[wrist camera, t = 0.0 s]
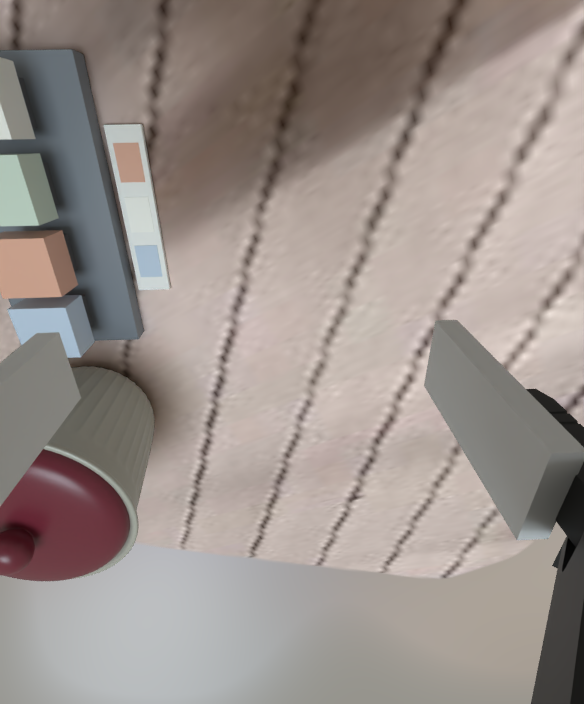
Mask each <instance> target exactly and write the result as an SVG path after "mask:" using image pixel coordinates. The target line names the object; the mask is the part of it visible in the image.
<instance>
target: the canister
mask: <svg viewBox="0 0 584 704" xmlns="http://www.w3.org/2000/svg"><path fill="white" fill-rule="evenodd" d="M71 369H72V372H73V375H74V378H75V381H76V384H77V387H78V390H79V393H80V396H81V399H80V400H79V401H78V403H77V404H76V405H75V407H74V408H73V409H72V411H71V412H70V414H69V415H68V416H67V418H66V419H65V420H64V422H63V423H62V424H61V426H60V427H59V428H58V430H57V431H56V432H55V434H54V435H53V436H52V438H51V439H50V440H49V442H48V443H47V444H46V446H45V447H44V448H43V450H42V451H41V453H40V454H39V455H38V457H37V458H36V459H35V461H34V462H33V463H32V465H31V466H30V467H29V469H28V470H27V471H26V473H25V474H24V475H23V477H22V478H21V479H20V481H19V482H18V483H17V485H16V486H15V487H14V489H13V490H12V492H11V493H10V494H9V496H8V497H7V498H6V500H5V501H4V502H3V504H2V505H1V506H0V575H4V576H8V577H12V578H17V579H24V580H33V581H59V580H66V579H74V578H80V577H85V576H89V575H93V574H96V573H99V572H101V571H104V570H106V569H108V568H110V567H111V566H113V565H115V564H116V563H118V562H119V561H120V560H122V559H123V558H124V557H125V556H126V555H127V554H128V552H129V551H130V550H131V548H132V547H133V545H134V543H135V540H136V537H137V534H138V516H137V511H136V510H137V506H138V502H139V498H140V493H141V489H142V485H143V480H144V476H145V472H146V468H147V464H148V459H149V455H150V450H151V445H152V440H153V435H154V421H155V420H154V415H153V409H152V407H151V404H150V401H149V400H148V399H147V397H146V394H145V393H143V392H142V390H141V388H140V387H138V386H137V385H136V384H135V382H132V381H131V380H129V379H128V377H124V376H123V375H121V374H120V373H116V372H114V371H112V370H107V369H104V368H97V367H94V366H91V367H86V366H82V367H74V368H71Z"/></svg>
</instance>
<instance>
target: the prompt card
mask: <svg viewBox="0 0 584 704" xmlns="http://www.w3.org/2000/svg"><path fill="white" fill-rule="evenodd" d="M104 129H105V134H106V139H107V143H108V148H109V153H110V157H111V162H112V167H113V171H114V176H115V181H116V185H117V190H118V195H119V199H120V204H121V209H122V213H123V218H124V223H125V227H126V232H127V237H128V241H129V246H130V250H131V255H132V260H133V264H134V269H135V274H136V278H137V283H138V288H139V290H157V289H170V288H171V286H170V280H169V274H168V268H167V263H166V257H165V251H164V245H163V240H162V234H161V228H160V222H159V217H158V211H157V205H156V199H155V193H154V188H153V182H152V176H151V170H150V165H149V159H148V153H147V147H146V141H145V136H144V130H143V124H125V125H104Z"/></svg>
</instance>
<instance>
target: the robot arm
mask: <svg viewBox="0 0 584 704" xmlns="http://www.w3.org/2000/svg"><path fill="white" fill-rule="evenodd" d="M424 386H425V388H426V390H427V391H428V393H429V395H430V396H431V398H432V400H433V401H434V403H435V405H436V406H437V408H438V410H439V411H440V413H441V415H442V416H443V418H444V420H445V421H446V423H447V425H448V426H449V428H450V430H451V431H452V433H453V435H454V436H455V438H456V440H457V441H458V443H459V445H460V446H461V448H462V450H463V451H464V453H465V455H466V456H467V458H468V460H469V461H470V463H471V465H472V466H473V468H474V470H475V471H476V473H477V475H478V476H479V478H480V480H481V481H482V483H483V485H484V486H485V488H486V490H487V491H488V493H489V495H490V496H491V498H492V500H493V501H494V503H495V505H496V506H497V508H498V510H499V511H500V513H501V515H502V516H503V518H504V520H505V521H506V523H507V525H508V526H509V528H510V530H511V531H512V533H513V535H514V536H515V538H516V540H531V539H548V538H549V536H550V534H551V532H552V530H553V527H554V525H555V523H556V521H557V523H558V524H559V525H560V527H561V528H562V529H563V531H564V532H565V534H566V535H567V537H566V539H565V541H564V543H563V545H562V547H561V549H560V551H559V553H558V555H557V557H556V559H555V561H554V563H553V565H552V566H554V567H556V568H558V570H557V575H556V580H555V585H554V590H553V595H552V600H551V606H550V610H549V615H548V621H547V625H546V630H545V636H544V641H543V646H542V651H541V656H540V661H539V666H538V671H537V676H536V681H535V686H534V691H533V696H532V701H531V704H584V427H583V426H582V425H581V424H578V423H577V420H576V419H574V418H573V417H572V416H571V415H570V414H567V411H566V410H565V409H564V408H563V407H562V406H561V405H560V404H558V403H557V402H556V401H555V400H554V399H553V398H551V397H549V396H547V395H546V394H544V393H542V392H540V391H538V390H537V389H525V388H524V387H523V386H522V385H521V384H520V383H519V382H518V381H517V380H516V379H515V378H514V377H513V376H512V375H511V374H510V373H509V372H508V371H507V370H506V369H505V368H504V367H503V366H502V365H501V364H500V363H499V362H498V361H497V360H496V359H495V358H494V357H493V356H492V355H491V354H490V353H489V352H488V351H487V350H486V349H485V348H484V347H483V346H482V345H481V344H480V343H479V342H478V341H477V340H476V339H475V338H474V337H473V336H472V335H471V334H470V333H469V332H468V331H467V330H466V329H465V328H464V327H463V326H462V325H461V324H460V323H459V322H458V321H457V320H441V321H435V326H434V332H433V338H432V344H431V349H430V355H429V361H428V367H427V372H426V378H425V384H424ZM80 399H81V396H80V393H79V390H78V387H77V384H76V381H75V378H74V375H73V372H72V369H71V366H70V363H69V360H68V357H67V354H66V351H65V348H64V345H63V342H62V339H61V336H60V333H59V332H55V333H36V334H35V335H34V336H32V337H31V338H30V339H29V340H28V341H26V342H25V343H24V344H23V345H21V346H20V347H19V348H18V349H17V350H15V351H14V352H13V353H12V354H11V355H9V356H8V357H7V358H6V359H4V360H3V361H2V362H1V363H0V506H1V505H2V504H3V502H4V501H5V500H6V498H7V497H8V496H9V494H10V493H11V492H12V490H13V489H14V487H15V486H16V485H17V483H18V482H19V481H20V479H21V478H22V477H23V475H24V474H25V473H26V471H27V470H28V469H29V467H30V466H31V465H32V463H33V462H34V461H35V459H36V458H37V457H38V455H39V454H40V453H41V451H42V450H43V448H44V447H45V446H46V444H47V443H48V442H49V440H50V439H51V438H52V436H53V435H54V434H55V432H56V431H57V430H58V428H59V427H60V426H61V424H62V423H63V422H64V420H65V419H66V418H67V416H68V415H69V414H70V412H71V411H72V409H73V408H74V407H75V405H76V404H77V403H78V401H79V400H80Z"/></svg>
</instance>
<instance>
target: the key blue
mask: <svg viewBox="0 0 584 704" xmlns="http://www.w3.org/2000/svg"><path fill="white" fill-rule="evenodd" d="M7 310H8V312H9V315H10V317H11V320H12V323H13V325H14V328H15V330H16V333H17V335H18V338H19V340H20V343H21V345H23V344H24V343H25V342H26V341H28V340H29V339H30V338H31V337H32V336H34V335H35V334H36V333H55V332H59V333H60V336H61V339H62V342H63V345H64V348H65V351H66V354H67V357H68V358H74V357H82V356H83V354H84V353H85V352H86V351H87V350H88V349H89V348H90V347H91V345H92V344H93V343H94V342H95V341H94V337H93V334H92V331H91V327H90V324H89V320H88V317H87V313H86V310H85V307H84V303H83V300H82V296H81V295H64V296H63V297H45V298H24V299H23V300H21V301H20V302H18V303H17V304H15V305H13V306H12V307H10V308H9V309H7Z"/></svg>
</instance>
